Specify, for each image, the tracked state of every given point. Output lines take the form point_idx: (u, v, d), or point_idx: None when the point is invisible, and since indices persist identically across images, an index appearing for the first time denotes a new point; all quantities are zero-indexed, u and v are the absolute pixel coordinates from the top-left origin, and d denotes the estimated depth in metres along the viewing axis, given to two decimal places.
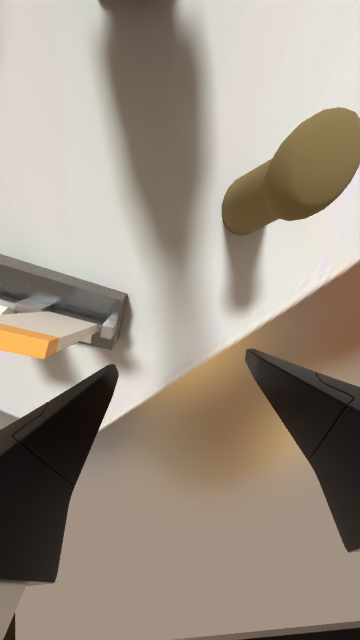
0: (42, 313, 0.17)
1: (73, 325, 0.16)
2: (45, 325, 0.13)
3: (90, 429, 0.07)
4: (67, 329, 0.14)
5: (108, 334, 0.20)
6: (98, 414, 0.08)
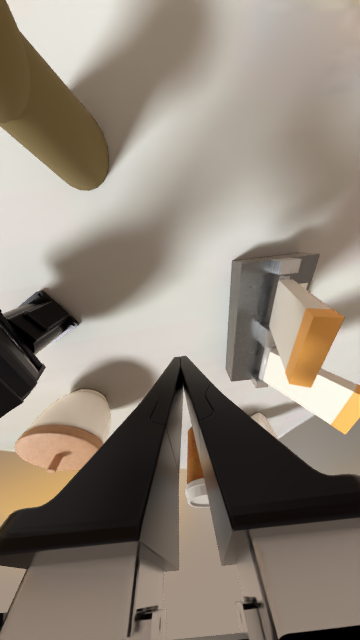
0: (272, 329, 0.17)
1: (284, 301, 0.14)
2: (288, 324, 0.13)
3: (180, 419, 0.07)
4: (291, 305, 0.12)
5: (293, 263, 0.15)
6: (181, 405, 0.08)
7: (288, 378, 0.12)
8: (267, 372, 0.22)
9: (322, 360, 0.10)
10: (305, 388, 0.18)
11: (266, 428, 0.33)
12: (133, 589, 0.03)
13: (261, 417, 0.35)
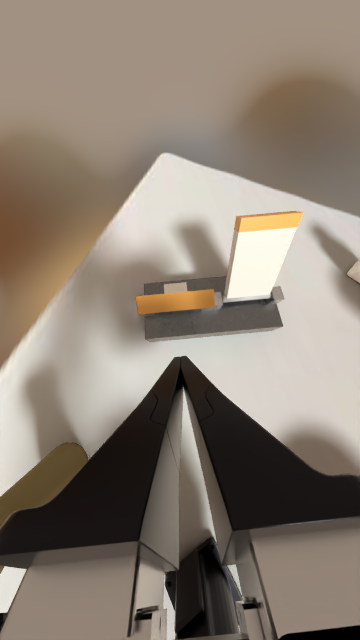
0: None
1: None
2: None
3: (180, 419, 0.07)
4: None
5: None
6: (181, 405, 0.08)
7: (211, 307, 0.11)
8: (255, 294, 0.20)
9: (177, 293, 0.11)
10: (257, 261, 0.17)
11: None
12: (133, 589, 0.03)
13: (354, 270, 0.25)
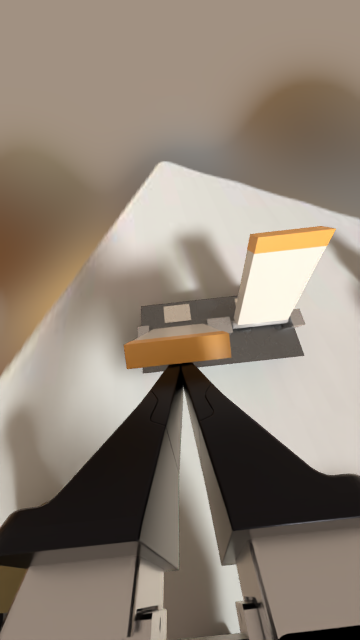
0: None
1: None
2: None
3: (180, 419, 0.07)
4: None
5: (141, 332, 0.17)
6: (181, 405, 0.08)
7: (225, 356, 0.08)
8: (270, 319, 0.17)
9: (180, 340, 0.08)
10: (275, 285, 0.14)
11: None
12: (133, 589, 0.03)
13: None
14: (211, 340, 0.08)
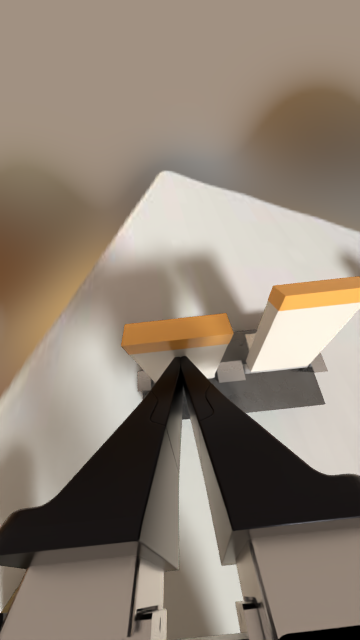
0: (209, 373, 0.14)
1: (162, 373, 0.12)
2: None
3: (180, 419, 0.07)
4: (152, 366, 0.11)
5: (141, 378, 0.15)
6: (181, 405, 0.08)
7: (228, 337, 0.08)
8: (288, 366, 0.15)
9: (179, 319, 0.08)
10: (298, 338, 0.12)
11: None
12: (133, 589, 0.03)
13: None
14: (209, 318, 0.08)
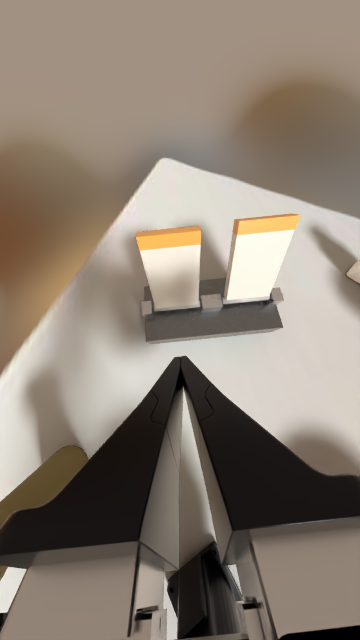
0: (194, 294, 0.19)
1: (160, 287, 0.17)
2: (167, 268, 0.16)
3: (180, 419, 0.07)
4: (153, 273, 0.16)
5: (144, 305, 0.20)
6: (181, 405, 0.08)
7: (198, 234, 0.13)
8: (254, 295, 0.20)
9: None
10: (256, 263, 0.17)
11: None
12: (133, 589, 0.03)
13: (353, 270, 0.25)
14: (188, 227, 0.14)
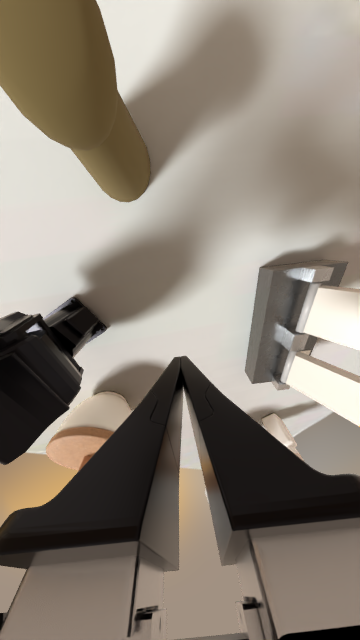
0: (322, 334, 0.17)
1: (359, 305, 0.14)
2: None
3: (180, 419, 0.07)
4: None
5: (326, 272, 0.16)
6: (181, 405, 0.08)
7: None
8: (291, 375, 0.22)
9: None
10: (332, 391, 0.19)
11: (282, 429, 0.33)
12: (133, 589, 0.03)
13: (276, 418, 0.35)
14: None
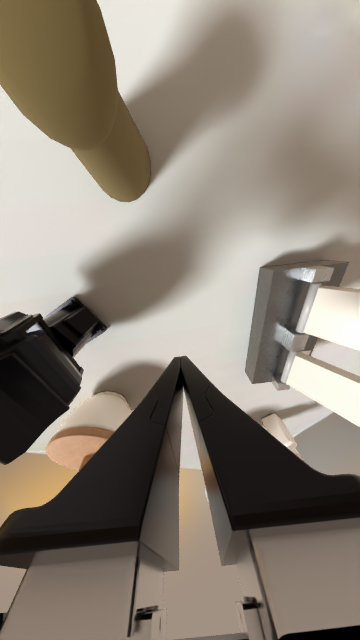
0: (323, 334, 0.17)
1: (359, 306, 0.14)
2: None
3: (180, 419, 0.07)
4: None
5: (326, 272, 0.16)
6: (181, 405, 0.08)
7: None
8: (291, 375, 0.22)
9: None
10: (333, 391, 0.19)
11: (282, 429, 0.33)
12: (133, 589, 0.03)
13: (276, 418, 0.35)
14: None
